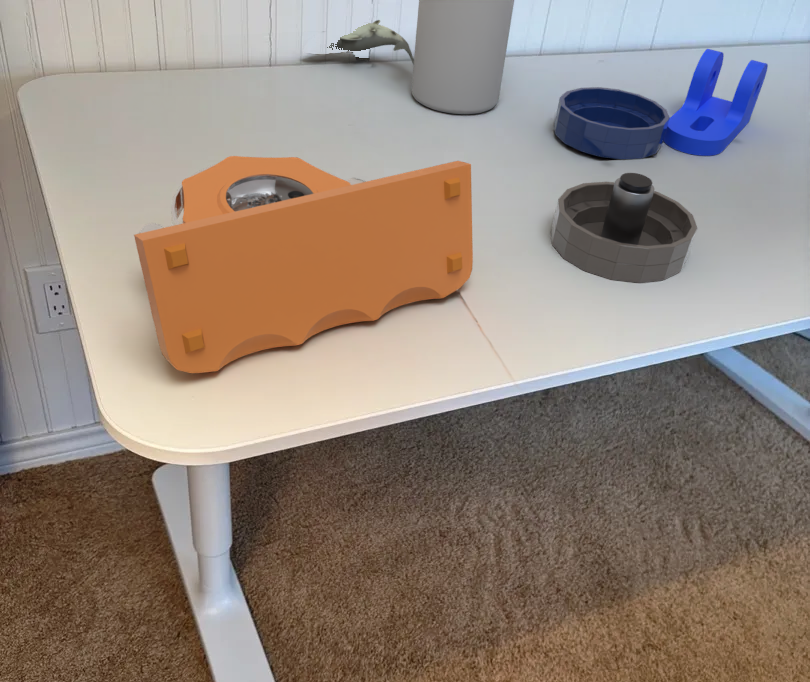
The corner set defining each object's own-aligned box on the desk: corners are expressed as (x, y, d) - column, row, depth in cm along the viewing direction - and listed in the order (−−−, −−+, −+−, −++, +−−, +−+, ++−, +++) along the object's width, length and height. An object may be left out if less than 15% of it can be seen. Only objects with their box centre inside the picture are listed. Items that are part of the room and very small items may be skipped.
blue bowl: (626, 117, 118) (635, 85, 115) (679, 160, 108) (689, 127, 105) (536, 121, 114) (542, 88, 111) (582, 166, 104) (590, 131, 101)
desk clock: (474, 158, 73) (355, 128, 87) (143, 235, 59) (68, 184, 73) (476, 289, 79) (365, 241, 94) (177, 387, 65) (101, 311, 80)
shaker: (624, 235, 90) (643, 169, 85) (643, 254, 87) (663, 187, 82) (592, 238, 89) (609, 171, 84) (609, 257, 86) (628, 190, 81)
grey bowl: (641, 214, 96) (651, 178, 93) (709, 280, 86) (723, 241, 83) (529, 223, 92) (536, 186, 89) (587, 293, 82) (597, 253, 79)
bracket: (694, 106, 124) (713, 43, 118) (749, 121, 121) (771, 58, 115) (653, 143, 112) (673, 75, 106) (713, 161, 109) (737, 92, 103)
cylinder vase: (393, 92, 118) (407, -112, 102) (457, 77, 125) (480, -116, 108) (451, 123, 111) (477, -90, 95) (516, 106, 118) (550, -96, 101)
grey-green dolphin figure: (297, 61, 117) (308, 108, 123) (414, 46, 116) (419, 94, 122) (301, 10, 126) (311, 56, 132) (410, -4, 125) (415, 43, 131)
